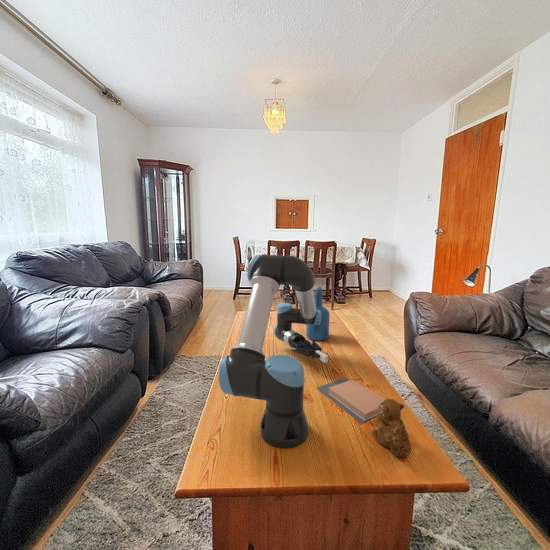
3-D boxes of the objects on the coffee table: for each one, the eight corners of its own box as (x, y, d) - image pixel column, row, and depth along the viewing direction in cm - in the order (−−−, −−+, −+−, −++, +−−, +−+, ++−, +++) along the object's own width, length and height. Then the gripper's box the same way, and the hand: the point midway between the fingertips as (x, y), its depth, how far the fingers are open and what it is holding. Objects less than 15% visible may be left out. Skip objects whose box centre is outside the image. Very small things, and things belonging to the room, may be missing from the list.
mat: (315, 388, 115) (315, 387, 115) (345, 378, 123) (345, 377, 123) (360, 424, 95) (360, 423, 95) (393, 409, 103) (393, 408, 103)
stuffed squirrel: (400, 429, 93) (404, 391, 90) (421, 465, 79) (426, 422, 77) (369, 428, 93) (372, 391, 91) (384, 464, 79) (388, 421, 77)
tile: (329, 387, 111) (365, 414, 96) (352, 379, 117) (389, 403, 102) (328, 393, 111) (364, 420, 96) (351, 385, 117) (389, 409, 102)
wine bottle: (331, 341, 162) (333, 288, 157) (308, 341, 161) (309, 289, 156) (326, 332, 175) (327, 283, 170) (304, 332, 175) (305, 283, 170)
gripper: (305, 344, 145) (337, 364, 124) (283, 350, 138) (313, 371, 118) (305, 330, 143) (338, 347, 123) (283, 335, 137) (314, 354, 117)
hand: (326, 359), depth 121 cm, fingers closed
